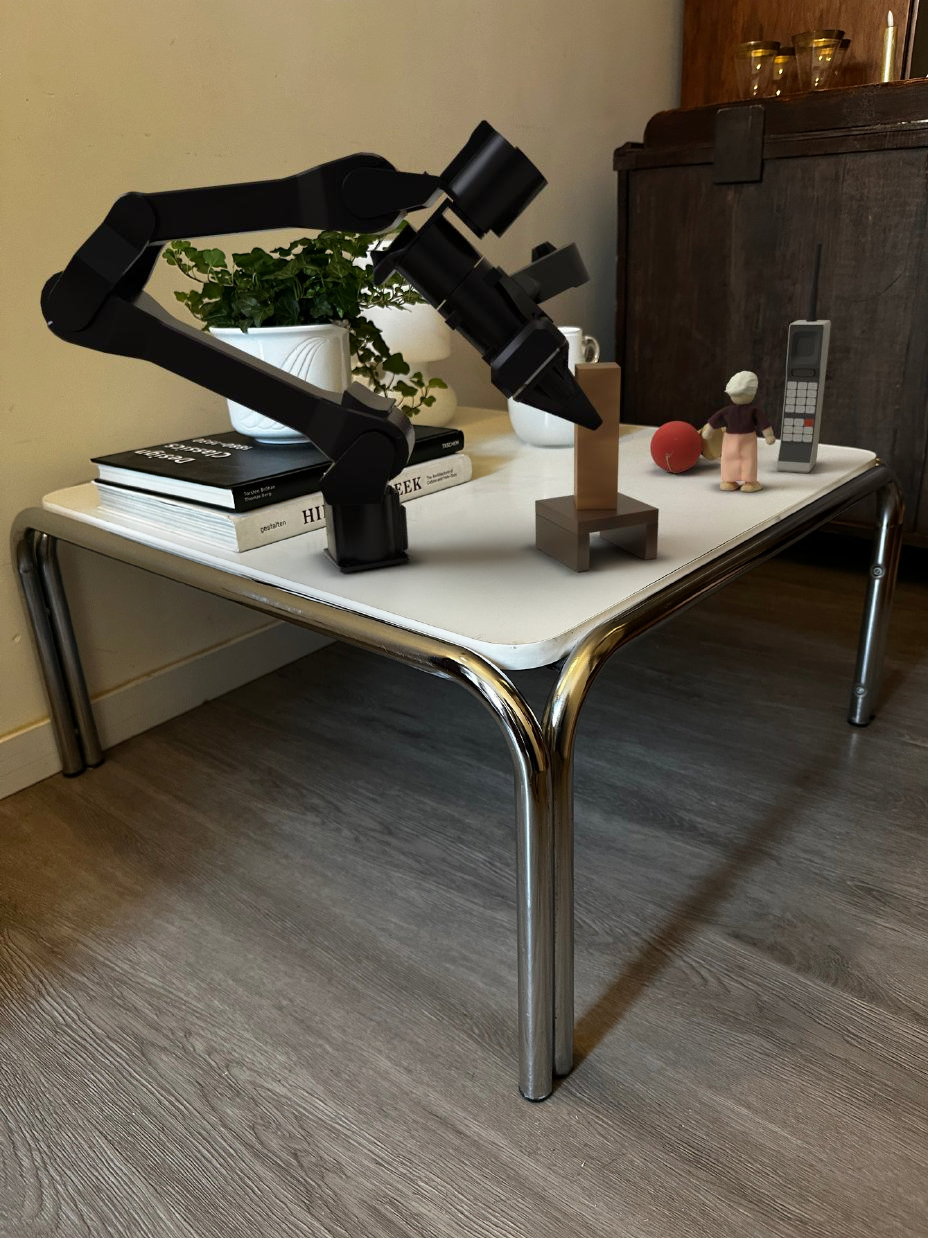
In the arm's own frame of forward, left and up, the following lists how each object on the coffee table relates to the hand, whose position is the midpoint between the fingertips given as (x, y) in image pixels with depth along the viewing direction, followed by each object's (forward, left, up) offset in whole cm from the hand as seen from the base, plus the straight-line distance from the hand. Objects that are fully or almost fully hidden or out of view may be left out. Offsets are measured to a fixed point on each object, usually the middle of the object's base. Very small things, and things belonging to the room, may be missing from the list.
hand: (593, 416), depth 79 cm
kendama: (+29, +25, -12) cm, 41 cm away
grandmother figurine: (+25, +12, -12) cm, 31 cm away
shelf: (0, 0, -12) cm, 12 cm away
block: (0, 0, -8) cm, 8 cm away
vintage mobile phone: (+37, +16, -12) cm, 43 cm away
